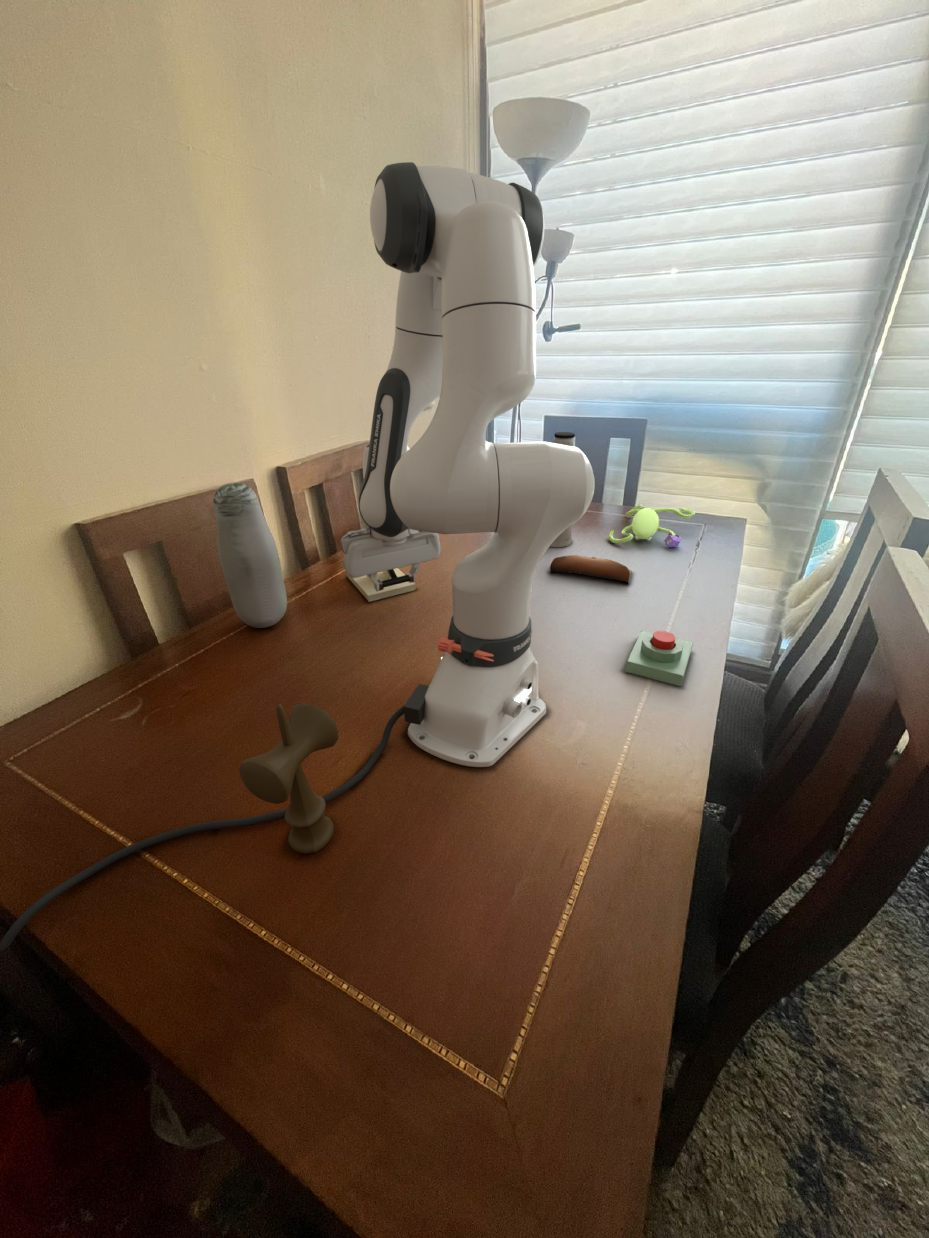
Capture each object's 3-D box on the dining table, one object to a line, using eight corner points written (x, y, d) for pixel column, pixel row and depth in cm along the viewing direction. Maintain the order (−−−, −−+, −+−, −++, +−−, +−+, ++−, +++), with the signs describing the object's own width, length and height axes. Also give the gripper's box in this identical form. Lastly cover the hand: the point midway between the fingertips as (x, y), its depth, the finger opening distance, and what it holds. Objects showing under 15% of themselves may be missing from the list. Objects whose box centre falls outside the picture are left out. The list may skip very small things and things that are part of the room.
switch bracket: (415, 589, 115) (412, 540, 109) (369, 602, 110) (362, 550, 104) (391, 567, 125) (387, 521, 120) (348, 577, 121) (341, 530, 115)
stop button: (671, 652, 86) (673, 644, 85) (649, 647, 87) (651, 638, 86) (675, 642, 88) (677, 633, 88) (653, 637, 90) (655, 628, 89)
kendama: (356, 812, 63) (332, 682, 53) (309, 881, 56) (271, 745, 45) (314, 798, 65) (284, 670, 55) (264, 864, 57) (218, 729, 47)
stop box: (680, 686, 84) (685, 666, 82) (625, 671, 87) (628, 652, 85) (690, 653, 92) (695, 634, 90) (639, 640, 96) (642, 622, 94)
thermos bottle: (551, 549, 134) (560, 437, 120) (535, 539, 140) (541, 431, 126) (577, 544, 137) (588, 434, 122) (560, 534, 143) (568, 428, 129)
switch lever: (409, 583, 110) (410, 576, 108) (383, 590, 108) (384, 583, 106) (386, 539, 116) (387, 531, 114) (360, 544, 113) (361, 537, 111)
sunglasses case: (632, 569, 121) (634, 551, 116) (627, 593, 118) (629, 577, 113) (557, 558, 127) (555, 541, 122) (550, 581, 124) (548, 565, 119)
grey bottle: (236, 618, 105) (197, 481, 91) (287, 606, 109) (258, 474, 95) (242, 641, 97) (201, 496, 83) (296, 627, 101) (267, 487, 87)
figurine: (694, 524, 148) (698, 505, 146) (677, 556, 129) (681, 535, 126) (629, 514, 156) (632, 496, 154) (604, 543, 137) (606, 523, 134)
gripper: (345, 539, 95) (353, 603, 103) (443, 519, 104) (444, 580, 111) (334, 528, 100) (343, 590, 107) (429, 510, 109) (431, 569, 116)
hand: (395, 585), depth 109 cm, fingers closed on switch lever, 6 cm apart
